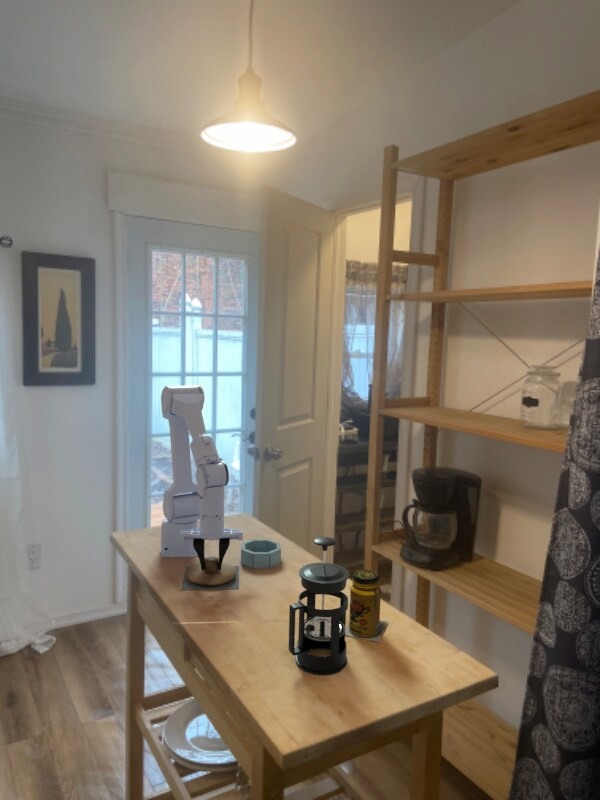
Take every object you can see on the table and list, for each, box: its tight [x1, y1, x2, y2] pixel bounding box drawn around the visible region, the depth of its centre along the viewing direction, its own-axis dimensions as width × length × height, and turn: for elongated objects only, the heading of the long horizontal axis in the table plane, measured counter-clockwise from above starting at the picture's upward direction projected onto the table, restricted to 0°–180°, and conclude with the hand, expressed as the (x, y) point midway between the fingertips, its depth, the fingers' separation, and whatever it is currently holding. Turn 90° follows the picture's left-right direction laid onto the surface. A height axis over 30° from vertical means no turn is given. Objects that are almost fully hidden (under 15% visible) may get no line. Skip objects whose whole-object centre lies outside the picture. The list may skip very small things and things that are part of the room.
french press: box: [288, 536, 350, 676], centre depth 107 cm, size 12×9×23 cm
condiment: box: [345, 569, 389, 643], centre depth 120 cm, size 7×8×12 cm
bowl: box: [240, 538, 282, 569], centre depth 153 cm, size 10×10×4 cm
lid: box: [187, 556, 236, 585], centre depth 142 cm, size 12×12×4 cm
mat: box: [180, 565, 240, 592], centre depth 142 cm, size 13×13×1 cm
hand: (211, 568), depth 142 cm, fingers closed on lid, 3 cm apart
